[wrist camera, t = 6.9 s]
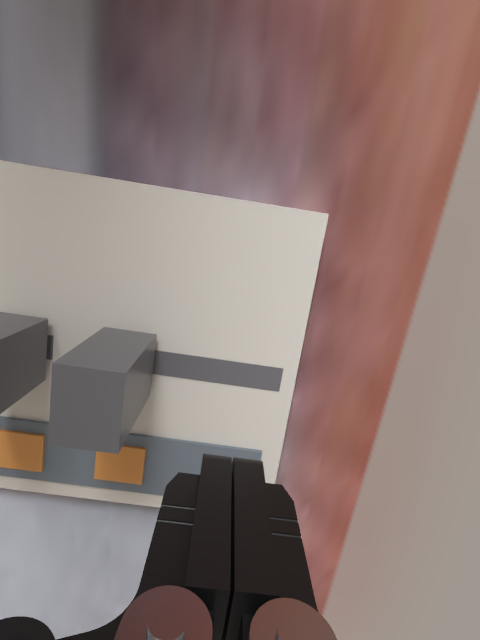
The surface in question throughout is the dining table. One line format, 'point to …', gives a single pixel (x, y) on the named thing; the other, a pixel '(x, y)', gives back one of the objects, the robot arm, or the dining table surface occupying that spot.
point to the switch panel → (156, 322)
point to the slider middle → (21, 356)
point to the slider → (100, 390)
